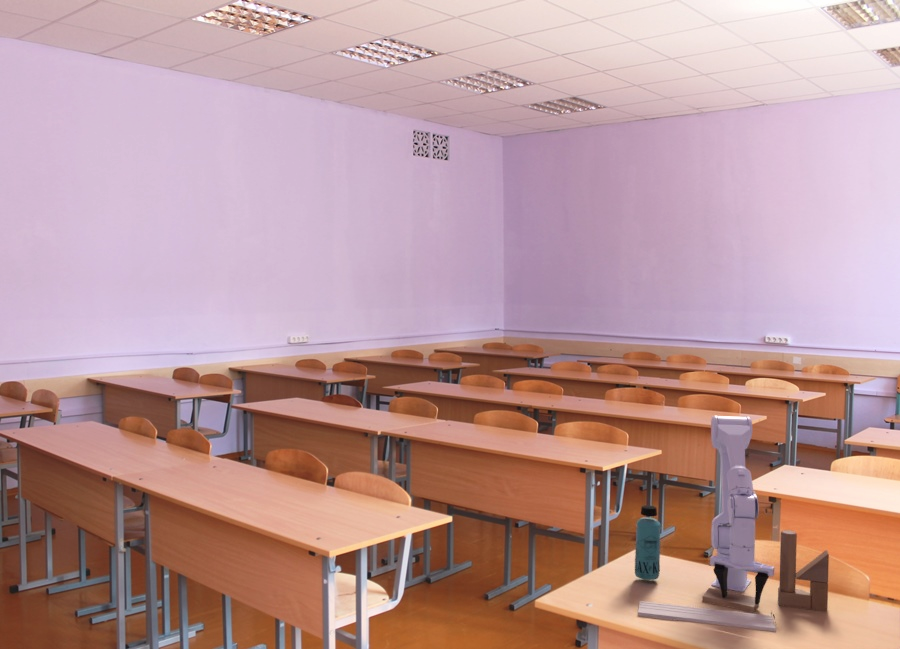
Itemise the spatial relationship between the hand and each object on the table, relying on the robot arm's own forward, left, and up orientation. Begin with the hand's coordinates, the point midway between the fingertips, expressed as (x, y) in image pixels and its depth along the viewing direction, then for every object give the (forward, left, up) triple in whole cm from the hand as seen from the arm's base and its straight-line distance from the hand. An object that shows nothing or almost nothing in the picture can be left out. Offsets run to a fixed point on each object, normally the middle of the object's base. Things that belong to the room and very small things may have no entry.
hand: (740, 599), depth 189 cm
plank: (-1, -2, -2) cm, 3 cm away
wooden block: (-8, +12, -2) cm, 15 cm away
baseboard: (+11, -6, -2) cm, 12 cm away
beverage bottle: (-3, -25, -2) cm, 25 cm away
